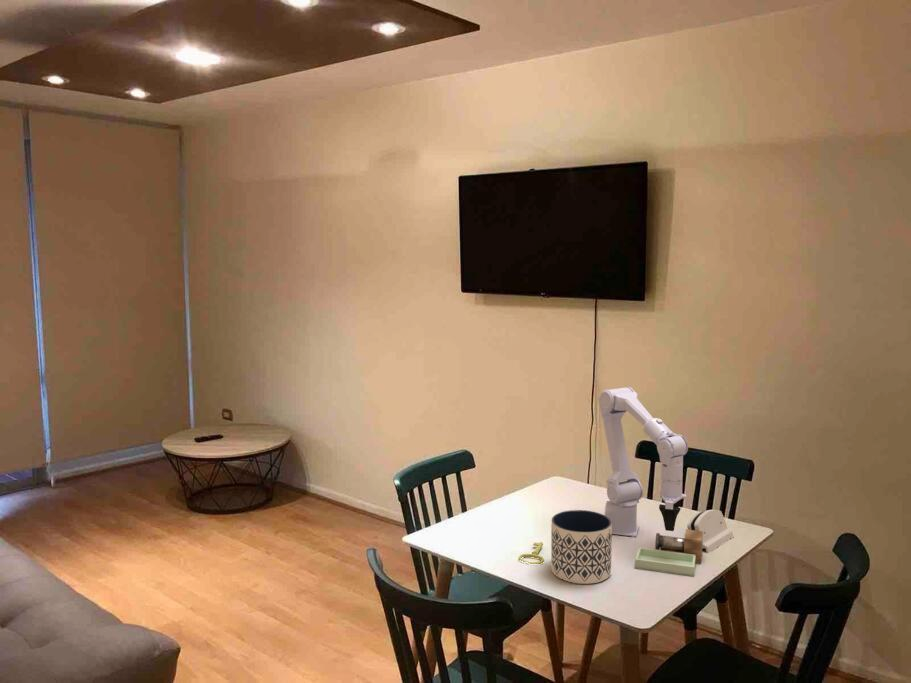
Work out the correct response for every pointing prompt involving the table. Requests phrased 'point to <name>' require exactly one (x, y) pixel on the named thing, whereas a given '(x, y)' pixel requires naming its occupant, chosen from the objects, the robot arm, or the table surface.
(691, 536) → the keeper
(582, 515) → the planter
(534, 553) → the key
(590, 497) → the table surface
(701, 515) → the white curved plastic device
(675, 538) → the pin
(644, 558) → the tray
